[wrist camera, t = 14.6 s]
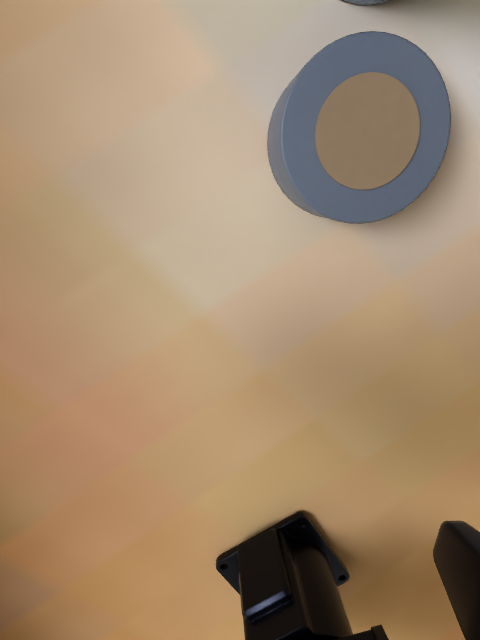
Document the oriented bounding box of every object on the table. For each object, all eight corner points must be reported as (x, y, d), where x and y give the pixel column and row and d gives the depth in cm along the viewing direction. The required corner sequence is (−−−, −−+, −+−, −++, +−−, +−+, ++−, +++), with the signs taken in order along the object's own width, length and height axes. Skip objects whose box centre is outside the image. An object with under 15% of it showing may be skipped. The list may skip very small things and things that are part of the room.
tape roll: (432, 167, 19) (478, 164, 16) (310, 244, 19) (331, 255, 16) (372, 23, 17) (411, -14, 14) (239, 115, 17) (246, 99, 14)
